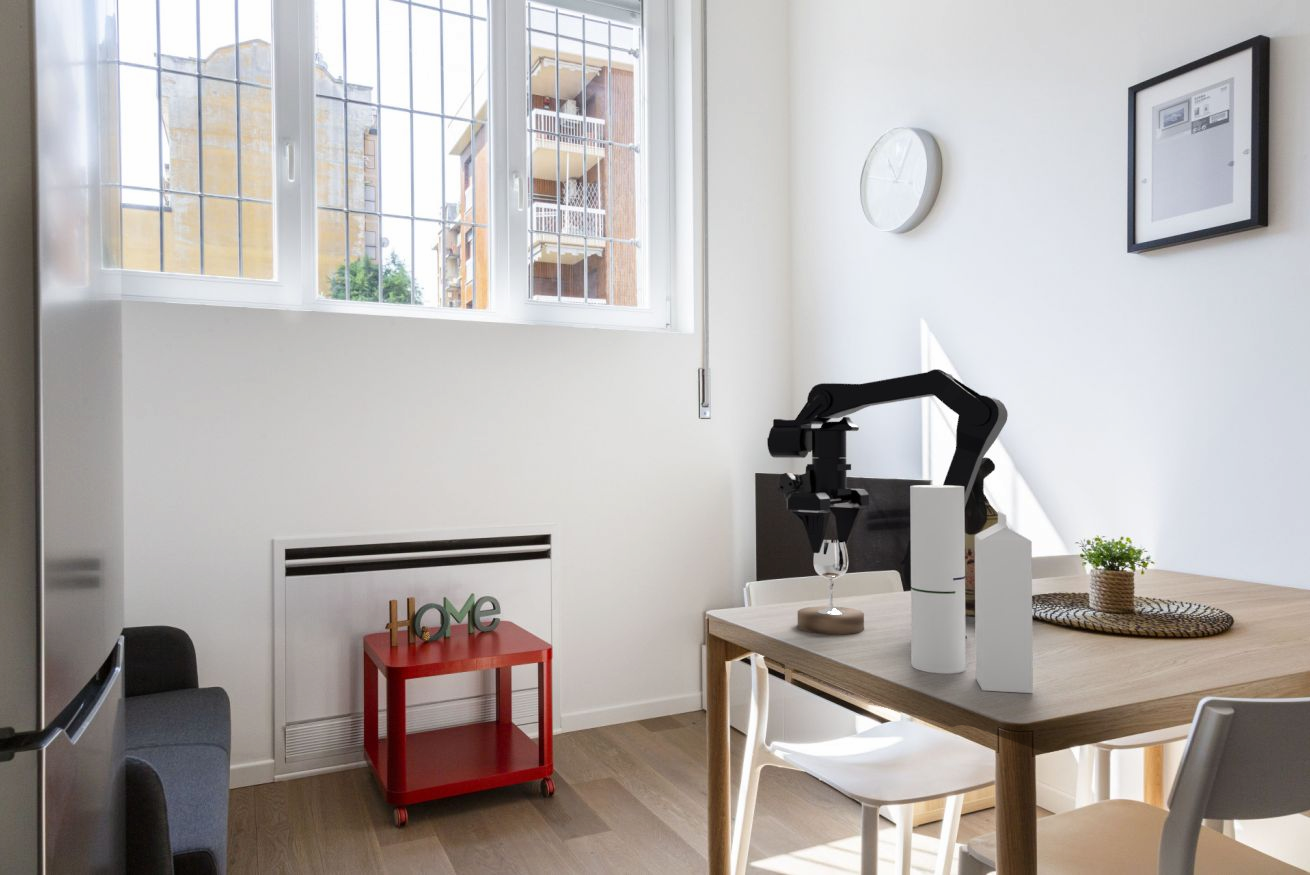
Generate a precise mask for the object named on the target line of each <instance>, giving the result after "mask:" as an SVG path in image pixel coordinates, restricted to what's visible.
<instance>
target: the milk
mask: <svg viewBox="0 0 1310 875" xmlns="http://www.w3.org/2000/svg"><path fill="white" fill-rule="evenodd" d="M997 513H998V523H997V524H995V525H993V526H991V527H989V528H987V529H986V530H984V531H982V532H980V533H978V534H976V535H975V615H974V616H975V617H974V622H975V625H974V626H975V628H974V629H975V634H974V635H975V638H974V639H975V640H974V641H975V648H974V649H975V651H974V652H975V679H976V681H977V683H978V685H979V688H980V689H981V691H985V692H986V691H987V692H1002V693H1019V694H1020V693H1021V694H1033V693H1034V683H1033V682H1034V673H1033V672H1034V670H1033V668H1034V667H1033V666H1034V665H1033V663H1034V662H1033V657H1034V656H1033V570H1032V569H1033V567H1032V566H1033V561H1032V559H1033V558H1032V557H1033V553H1032V551H1033V550H1032V549H1033V547H1032V543H1033V542H1032V540H1030V539H1029V538H1027V537H1025V536H1023V535H1022V534H1019V533H1018V532H1016V531H1015V530H1013V529H1011V528H1009V527H1008V525H1007V514H1005V513H1003V512H1001V511H997ZM1006 525H1007V526H1006Z"/></svg>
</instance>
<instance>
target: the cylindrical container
mask: <svg viewBox="0 0 1310 875" xmlns="http://www.w3.org/2000/svg"><path fill="white" fill-rule="evenodd" d="M909 489H910V490H909V494H910V495H909V496H910V503H909V504H910V506H909V507H910V511H909V513H910V517H909V518H910V520H909V521H910V540H911V588H910V599H911V600H910V618H911V621H910V622H911V623H910V626H911V627H910V628H911V629H910V633H911V634H910V636H911V637H910V641H911V643H910V647H911V648H910V649H911V652H910V653H911V658H910V659H911V667H912V668H914V669H916V670H919V671H922V672H925V673H931V674H943V675H945V674H947V675H948V674H959V673H962V672H965V671H966V668H967V666H966V665H967V664H966V663H967V658H966V654H967V653H966V648H967V647H966V644H967V643H966V640H967V639H966V638H965V635H966V614H965V577H964V576H965V512H964V486H950V485H943V484H939V485H938V484H937V485H936V484H935V485H934V484H929V485H926V484H924V485H923V484H920V485H919V484H917V485H910V487H909Z"/></svg>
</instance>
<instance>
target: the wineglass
mask: <svg viewBox="0 0 1310 875" xmlns="http://www.w3.org/2000/svg"><path fill="white" fill-rule="evenodd" d="M848 555H849V554H848V549H847V545H845V541H840V540H838V539H824V540H823V543H822V547H821V550H820V552H819V553H813V567H814V570H815V573H817V575H819V576H820V577H822V578H824V579H827V580H829V581H828V583H827V588H828V593H829V604H828V607H827V608H826V609H823V610H819V611H818V613H821V614H827V615H840V614H844V613H845V612H844V611H841V610H838V609H836V608H835V607H836V606H835V605H834V603H833V592H834V587H835V583H834V580H836V579H839V578H841V577H843V576H845V574H846V572H847V571H848V568H849V556H848Z"/></svg>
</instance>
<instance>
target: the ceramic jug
mask: <svg viewBox="0 0 1310 875" xmlns="http://www.w3.org/2000/svg"><path fill="white" fill-rule="evenodd" d="M995 468H996V464H995V463H994V461H993V460H992V459H991V458H989V457H985V456H984V457H983V459H982V462H981V465H980V467H979V470H978V473H977V476H976V478H975V481H974V484H973V486H972V489H971V492H970V495H969V497H968V500H967V503H966V506H965V508H964V512H965V576H964V577H965V615H967V616H975V535H976V534H978V533H980V532H982V531H984V530H986V529H987V528H989V527H991V526H993V525H995V524H997V523H998V511H997V510H996V509H995V508H994V507H993V506H992V505H991V503H990V502H989V499H988V498H987V496H986V495H985V493H984V486H985V483H984V482H985V479H986V478H987V477H988V476H989V475H991V474H992V473H993V471H995V470H996V469H995ZM1006 526H1007V527H1008V525H1007V524H1006Z"/></svg>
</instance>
